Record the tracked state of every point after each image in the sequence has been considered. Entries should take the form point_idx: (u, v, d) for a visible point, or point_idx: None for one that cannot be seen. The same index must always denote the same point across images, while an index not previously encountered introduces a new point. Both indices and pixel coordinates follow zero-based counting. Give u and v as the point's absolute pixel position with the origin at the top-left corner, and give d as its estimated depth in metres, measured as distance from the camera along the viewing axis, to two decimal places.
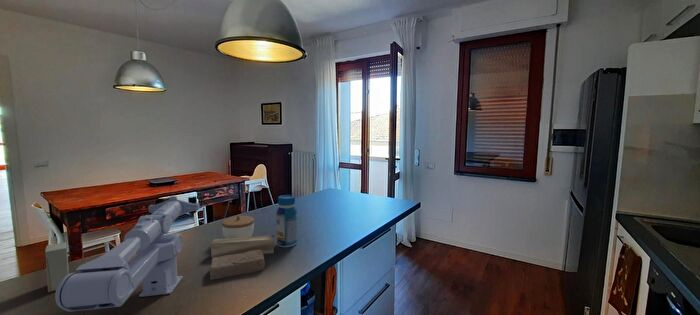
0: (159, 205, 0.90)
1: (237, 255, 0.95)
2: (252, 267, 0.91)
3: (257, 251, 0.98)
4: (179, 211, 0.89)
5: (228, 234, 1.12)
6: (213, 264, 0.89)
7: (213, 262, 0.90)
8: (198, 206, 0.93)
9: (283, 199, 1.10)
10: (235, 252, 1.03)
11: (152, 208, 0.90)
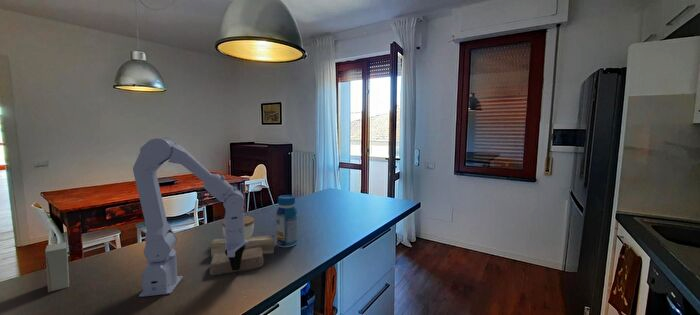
0: None
1: None
2: (250, 264, 0.93)
3: (257, 249, 1.00)
4: (233, 235, 0.86)
5: None
6: (213, 260, 0.91)
7: (213, 258, 0.93)
8: (230, 253, 0.82)
9: (283, 199, 1.10)
10: None
11: None
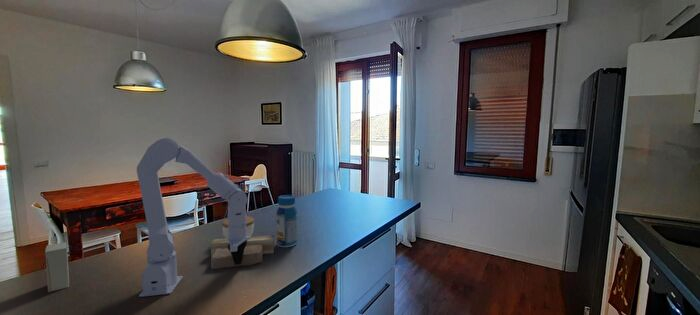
0: None
1: None
2: (249, 260, 0.96)
3: (257, 245, 1.03)
4: (235, 231, 0.90)
5: None
6: (214, 254, 0.96)
7: (215, 252, 0.97)
8: (233, 248, 0.86)
9: (283, 199, 1.10)
10: None
11: None
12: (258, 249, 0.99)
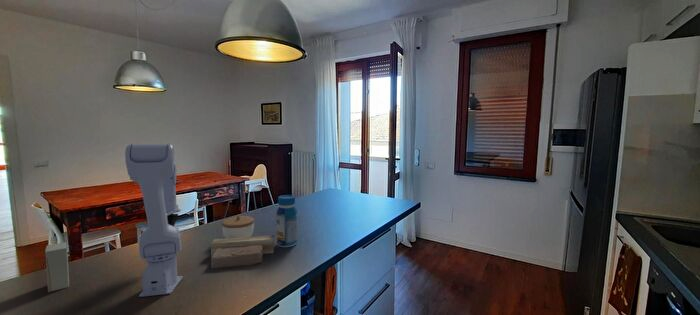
0: None
1: (239, 247, 1.02)
2: (249, 260, 0.97)
3: (258, 245, 1.03)
4: None
5: (228, 234, 1.12)
6: (215, 254, 0.96)
7: (215, 252, 0.97)
8: None
9: (283, 199, 1.10)
10: None
11: None
12: (258, 249, 0.99)
